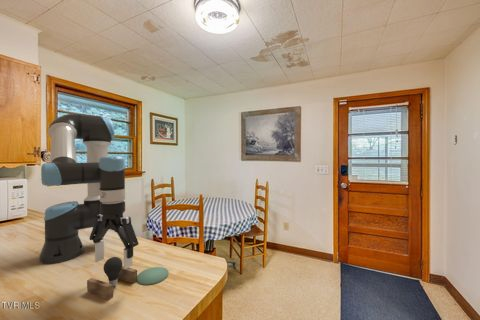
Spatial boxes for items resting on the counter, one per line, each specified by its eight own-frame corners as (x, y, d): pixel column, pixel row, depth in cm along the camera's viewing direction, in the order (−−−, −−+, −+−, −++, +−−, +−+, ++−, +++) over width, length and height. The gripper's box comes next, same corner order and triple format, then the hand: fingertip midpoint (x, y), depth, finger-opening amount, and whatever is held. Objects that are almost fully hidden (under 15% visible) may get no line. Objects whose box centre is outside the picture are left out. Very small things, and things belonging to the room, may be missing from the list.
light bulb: (109, 282, 76) (108, 254, 76) (125, 281, 77) (125, 253, 77) (100, 292, 71) (99, 261, 71) (117, 291, 71) (117, 261, 71)
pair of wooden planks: (87, 292, 71) (87, 280, 71) (117, 275, 81) (117, 264, 81) (108, 299, 67) (108, 287, 67) (137, 280, 77) (137, 269, 77)
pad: (129, 280, 77) (129, 279, 77) (152, 266, 87) (152, 264, 87) (153, 287, 73) (153, 286, 73) (174, 271, 83) (174, 270, 83)
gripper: (77, 201, 74) (77, 262, 74) (130, 206, 65) (131, 276, 65) (98, 197, 81) (98, 253, 81) (149, 202, 72) (150, 264, 72)
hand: (113, 263), depth 73 cm, fingers open, 13 cm apart
